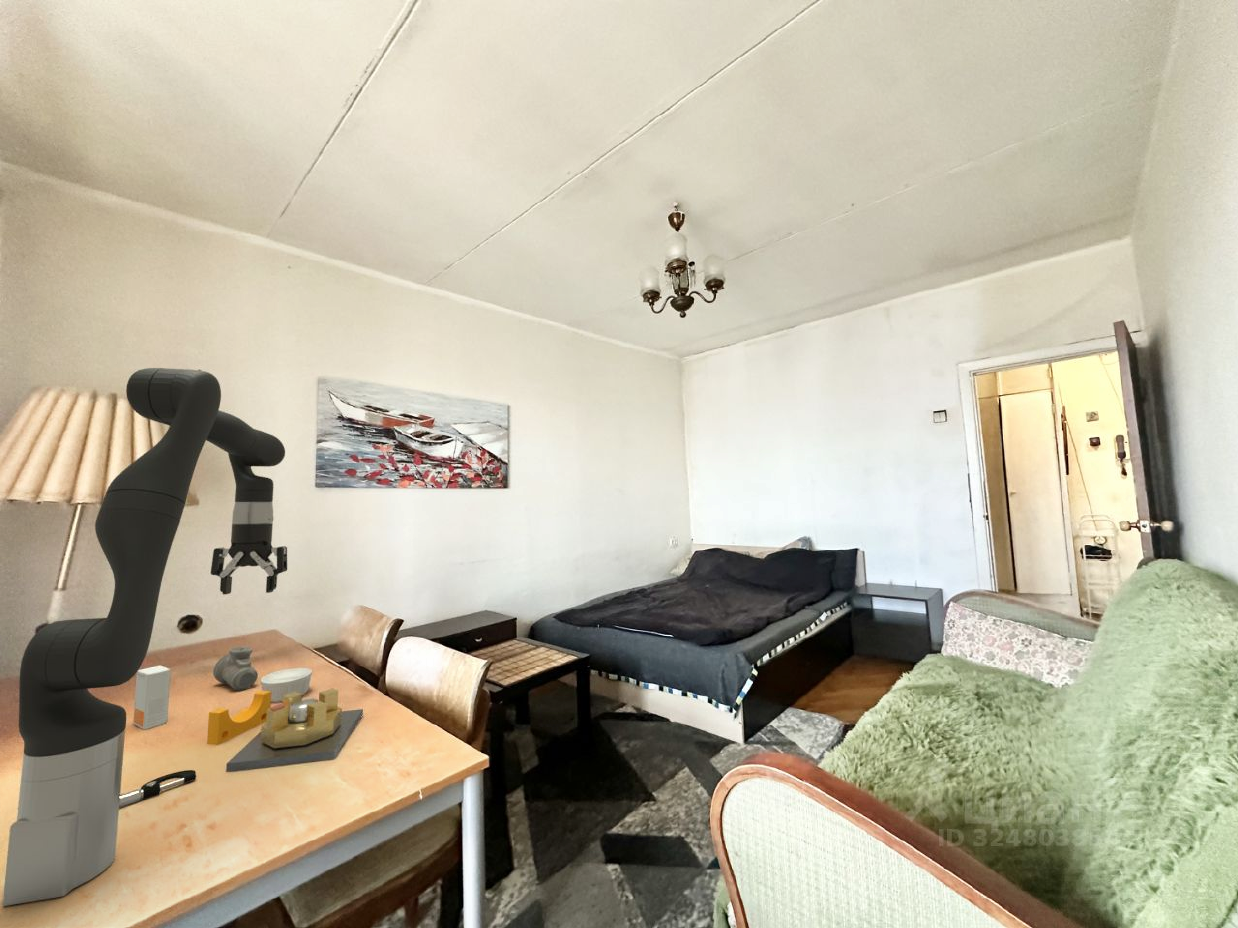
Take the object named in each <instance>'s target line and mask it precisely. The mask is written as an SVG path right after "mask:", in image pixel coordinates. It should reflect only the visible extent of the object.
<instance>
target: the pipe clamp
mask: <svg viewBox="0 0 1238 928" xmlns="http://www.w3.org/2000/svg"><path fill="white" fill-rule="evenodd" d="M271 704H272V702H271V691H262V690H260V691H257V692H256V693H254V694H253V699H252V702H251V704H250V706H249V707H245V708H244V709H241V710H240V711H239V712H238V713H237V714H236V715H234V716H233V717H232V718H231V716H230V714H229V713H230V712H229V709H228V708H217V709H215V710H211V711H208V724H207V725H208V726H207V736H206V738H207V739H206V740H207V741H206V744H207V745H215V746H218V745H220V744H222V743H224V742H226V741H228V740H230V739H233V738H234V737H236V736H239V735H241V734H244V733H246V732H247V731H249V730H252V729H254V728H255V727H258V726H260V725H261V724H262V725H263V724H265V723H266V720H267V709H270V707H272V705H271Z"/></svg>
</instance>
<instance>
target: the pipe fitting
mask: <svg viewBox="0 0 1238 928" xmlns="http://www.w3.org/2000/svg"><path fill="white" fill-rule="evenodd" d="M252 653H253V648H252V647H250V646H247V645H246V646H235V647H232V648H229V652H228V654H226V655H223V656H222V657H220V659H219V660H218V661H217V662H216V663H215V665H214V668H213V671H212V673H213V678H214V679H215V680H216V681H218V683H220V684H223V685H229V686H230V687H231V688H232V689H234V690H236V691H244V690H247V689H249V688H251V687H252V686H254V684H255V683H256V682H257V679H258V676H259V675H258V674H259V673H258V671H257V670H256V669H255V667H253V666H252V661H251V654H252Z"/></svg>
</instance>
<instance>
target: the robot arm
mask: <svg viewBox="0 0 1238 928" xmlns="http://www.w3.org/2000/svg"><path fill="white" fill-rule="evenodd" d="M220 385H221V384H220V382H219V380H218V378H217V377H216V376H215V375H213V374H212V373H210V372H208V371H204V370H198V369H188V368H187V369H186V368H185V369H183V368H182V369H181V368H165V367H164V368H163V367H149V368H148V367H147V368H143V369H139V370H137V371H135V372H133V373H132V374H131V375H130V377H129V378H128V380H127V384H126V388H125V389H126V391H125V392H126V394H125V395H126V399H127V401H128V403H129V405H130V407H131V408H132V410H133V411H135V413H137V414H138V415H139V416H141V417H143V418H145V419H146V420H150V421H154V422H156V423H159V424H162V425H166V426H169V427H168V429H167V431H166V433H165V434H164V435H163V437H161V438H160V440H159V441H158V442H157V443H155V445H154V446H152V447H151V448H150V449H148V450H147V451H146V452H145V453H144V454H142V455H141V456H139V458H137V459H136V460H134V461H133V462H132V463H130V464H129V465H128V466H127V467H126V468H124V469H123V470H121V472H120V473H119V474H118V475H117V476H115V477H114V479H113V480H112V481H111V482H110V485H109V486H108V487H107V490H106V492H105V495H104V497H103V499H102V503H101V506H100V508H99V510H98V513H97V516H96V519H95V523H94V530H95V531H94V532H95V535H96V538H97V541H98V543H99V546H100V548H101V550H102V552H103V554H104V556H105V557H106V560H107V562H108V563H109V567H110V568H111V571H112V574H113V579H114V591H113V597H112V602H111V606H110V608H109V612H108V614H107V617H98V618H96V617H95V618H80V619H79V618H77V619H75V618H74V619H66V620H64V619H63V620H58V621H54V622H52V623H49V624H47V625H45V626H43V627H42V628H41V629H39V630H38V631H37V632H36V633H35V634H34V635H33V636H32V638H31V639H30V640H29V642H28V644H27V646H26V648H25V649H24V653H23V656H22V659H21V663H20V668H19V669H20V670H19V681H18V683H19V685H18V687H19V688H18V690H19V692H18V698H19V699H18V731H19V734H20V737H21V738H22V740H23V745H24V746H23V754H22V755H23V757H22V765H21V766H22V767H21V776H20V782H19V783H20V785H19V786H20V787H19V796H18V806H17V814H16V815H17V817H16V821H15V822H13V823H12V824H10V827H9V836H8V845H7V854H6V867H5V875H4V886H3V887H4V888H3V897H2V905H3V906H2V907H5V906H12V905H17V904H25V903H30V902H31V903H32V902H36V901H43V900H49V899H55V898H62V897H64V896H65V895H67V894H68V893H70V892H71V891H72V890H74V889H75V888H77V887H79V886H81V885H83V884H85V883H87V882H89V881H90V880H92V879H94V878H95V877H97V876H99V875H100V874H102V872H105V870H106V869H107V868H109V867H110V865H111V864H112V863H113V862H114V860H115V858H116V853H117V852H116V850H117V838H118V829H119V828H118V827H119V813H120V809H119V802H120V795H121V790H122V789H121V788H122V787H121V786H122V774H123V761H124V750H125V749H124V748H125V740H126V739H125V738H126V736H125V735H126V727H127V711H126V709H125V708H124V707H122V706H121V705H118V704H115V703H112V702H108V701H105V700H102V699H100V698H98V697H96V696H95V695H93V694H92V693H91V692H90V691H89V689H99V688H112V687H116V686H121V685H123V684H125V683H127V682H129V681H130V680H131V679H132V678H133V677H134V676H135V675H137V671H138V670H140V668H141V667H142V665H143V663H144V660H145V658H146V656H147V654H148V650H149V646H150V642H151V638H152V633H153V628H154V623H155V619H156V612H157V607H158V603H159V597H160V591H161V588H162V587H161V586H162V582H163V578H164V573H165V570H166V567H167V562H168V559H169V556H170V553H171V549H172V546H173V542H174V539H175V536H176V534H177V532H178V531H177V530H178V528H179V525H180V522H181V518H182V516H183V512H184V508H185V505H186V503H187V498H188V494H189V493H188V492H189V490H190V486H191V483H192V480H193V476H194V473H195V469H196V466H197V464H198V461H199V458H200V455H201V454H202V450H203V448H204V446H205V443H206V441H207V442H209V443H211V444H213V445H215V446H216V447H217V448H219V449H221V450H222V451H224V452H226V453H227V454H228V459H229V462H230V465H231V468H232V469H231V470H232V473H233V478H234V481H235V493H234V506H233V511H232V520H231V521H232V522H231V533H230V534H231V535H230V537H231V538H230V543H231V545H230V547H229V548H225V547H223V546H222V547H217V548H214V549H213V552H212V561H211V566H210V575H211V576H216V577H219V578H220V582H219V583H220V585H219V587H220V588H219V591H220V593H222V595H223V596H224V595H230V594H232V587H233V584H232V583H233V576H231V575H233V574H234V572H235V571H236V570H237V569H238V568H240V567H241V568H244V567H248V566H249V567H258V566H259V567H260V568H261V569H262V570H264V571H265V573H266V574H267V575H268V576H266V586H265V593H267V594H268V593H269V594H270V593H272V592H274V590H276V588H277V586H278V585H277V584H278V575H279V574H282V573H284V572H287V570H288V547H287V546H286V545H283V546H278V547H277V546H275V547H273V545H272V540H273V523H274V519H275V518H274V505H273V499H274V481H273V479H272V478H270V477H266V476H261V475H256V474H255V473H254V472H253V470H252V467H265V468H267V467H268V468H269V467H270V468H271V467H275V466H278V465H279V464H281V463H282V462H283V460H284V459H285V456H286V448H285V446H284V443H283V442H282V441H281V440H280V439H279V438H278V437H276V436H275V435H273V434H271V433H268V432H265V431H262V430H259V429H256V428H253V427H252V426H250V425H249V424H248V422H245V421H244V420H242V419H241V418H239V417H237V416H235V415H233V414H231V413H228V412H225V411H223V410H220V405H221V401H222V390H221V386H220ZM272 553H273V555H274V556H275V557H276V566H275V565H274V562H273V561H272V559H270V556H271V555H272ZM228 555H229V556H230V558H232V559H231V560H230V561H229V562H228V563H227V564H226V566H225V565H224V564H225V558H226V557H227V556H228ZM224 566H225V568H224Z"/></svg>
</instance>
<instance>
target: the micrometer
mask: <svg viewBox="0 0 1238 928" xmlns="http://www.w3.org/2000/svg"><path fill="white" fill-rule="evenodd" d="M196 773H197V772H196V770H194V769H187V770H186V769H185V770H181V771H175V772H172V773H169V774H165V775H163V776H159V777H156V778H154V779H151V780H150V781H148V782H146V783H144V784H143V785H142V786H141V787H140V788H138V789H137V788H136V789H135V790H132V791H128V792H125V793H120V802H119V810H120V809H121V808H125V807H127V806H130V805H133V804H136V803H138V802H140V801H142V800H143V801H145V800H148V799H150V798H154V797H156V796H159V795H160V793H161V791H164V790H168V789H170V788H172V787H175V786H179V785H181V784H186V783H189V782H192V781H194V780H196V778H197V775H196ZM172 779H174V780H173V781H170V782H167V783H164V784H161V783H163V782H166V781H168V780H172Z"/></svg>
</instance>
